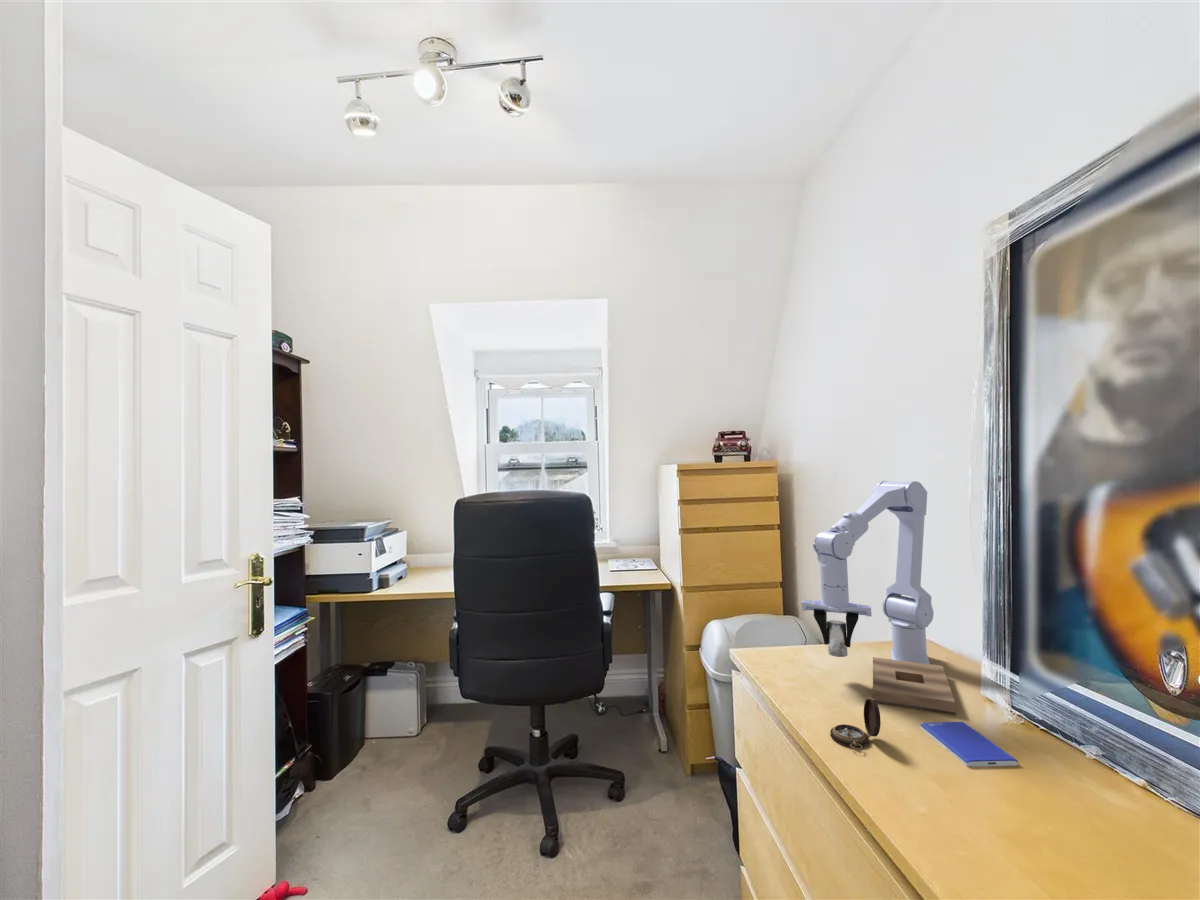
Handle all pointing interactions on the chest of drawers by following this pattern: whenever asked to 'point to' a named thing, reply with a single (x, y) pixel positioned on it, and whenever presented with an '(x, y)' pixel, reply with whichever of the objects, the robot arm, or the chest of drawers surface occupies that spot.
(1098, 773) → the chest of drawers surface
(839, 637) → the peg
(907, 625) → the robot arm
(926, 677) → the socket board
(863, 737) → the compass
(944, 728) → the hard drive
